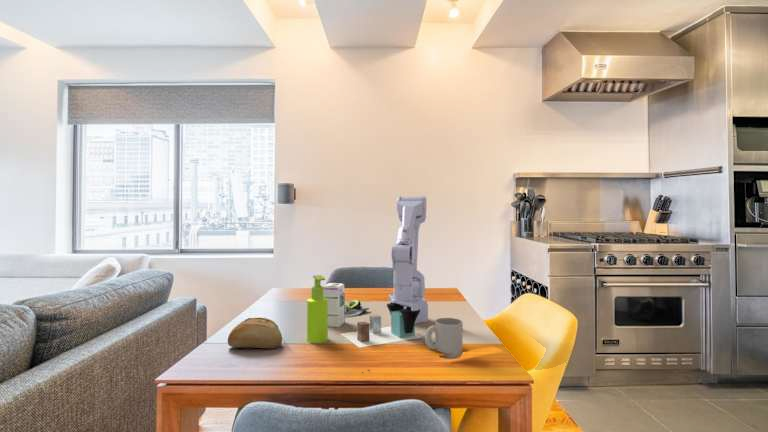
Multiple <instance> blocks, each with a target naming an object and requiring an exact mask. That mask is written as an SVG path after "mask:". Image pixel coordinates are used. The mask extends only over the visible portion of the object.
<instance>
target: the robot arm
mask: <svg viewBox="0 0 768 432" xmlns="http://www.w3.org/2000/svg"><path fill="white" fill-rule="evenodd" d="M396 211H397V214H398V219H399V222H401V226H400V227H399V228H398V229H397V233H396V237H395V238H396V239H395V242H394V243H395V245H394V246H392V248H391V262H392V270H393V294H388V302H390V303H387V304H386V307H387V309H388V310H389V314H390V315H391V311H399V310H400V311H401V313H402V316H403V320H404V329H405V333H412V332H413V328H414V324H415V325H416V324H420V323H425V322H426V323H427V322H428V321H429V306H428V305H429V304H428V301H427V300H426V298H424V297H425V291H426V288H425V287H426V285H425V276H424V274H423V273H421V271H419V270H418V254H419V253H418V252H419V234H420V233H419V232H420V227H421V224H422V223H425V222H426V219H427V198H426V196H424V195H423V196H401V195H399V196H398V198H397V199H396Z"/></svg>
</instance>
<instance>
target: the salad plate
mask: <svg viewBox="0 0 768 432" xmlns="http://www.w3.org/2000/svg"><path fill="white" fill-rule="evenodd" d="M368 310H370V307H364V306H362V305H361V301H360V299H353V300H350V301H349V302H348V303H347V304H345V319H347V318H353V317H354V318H355V317H358V316H359V315H362V314H363V313H364V312H367V311H368Z"/></svg>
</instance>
